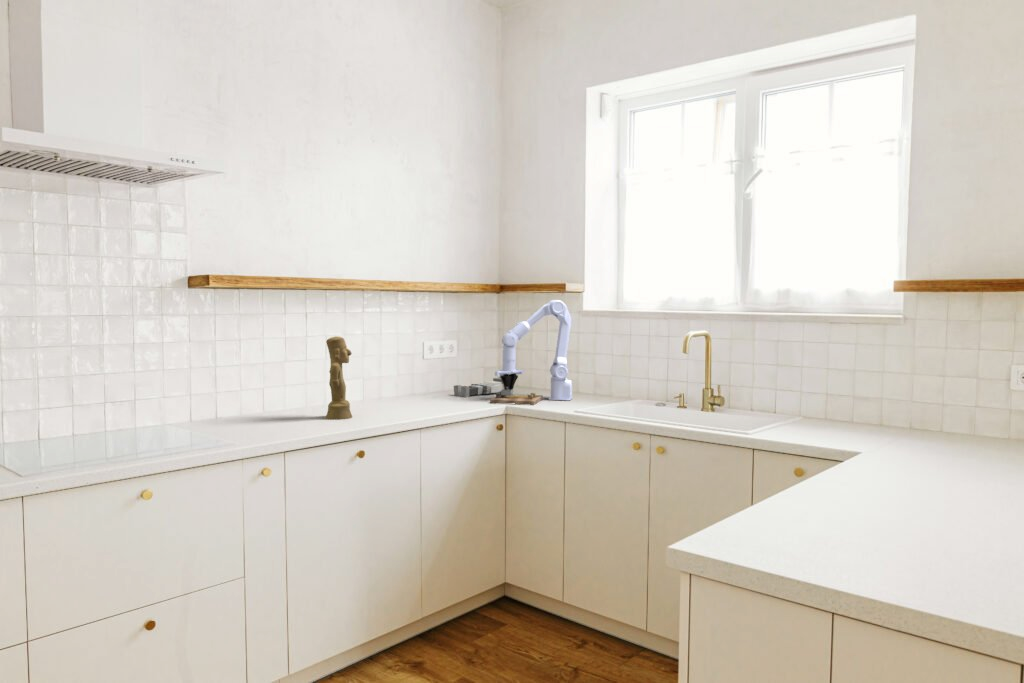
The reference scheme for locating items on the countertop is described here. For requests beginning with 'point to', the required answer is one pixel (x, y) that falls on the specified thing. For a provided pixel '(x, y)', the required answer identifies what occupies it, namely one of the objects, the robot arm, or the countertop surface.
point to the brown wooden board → (517, 399)
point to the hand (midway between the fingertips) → (508, 391)
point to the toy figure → (479, 388)
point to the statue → (338, 379)
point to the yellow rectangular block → (516, 396)
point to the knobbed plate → (507, 391)
